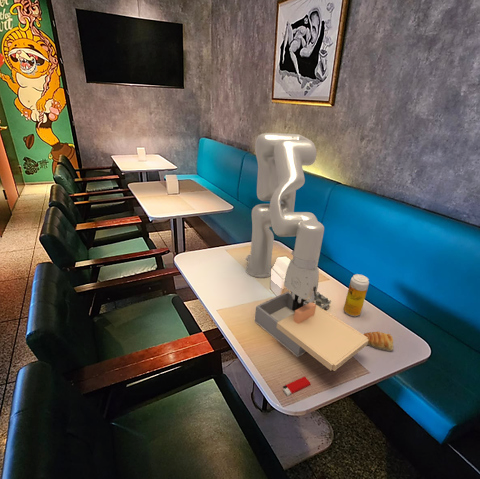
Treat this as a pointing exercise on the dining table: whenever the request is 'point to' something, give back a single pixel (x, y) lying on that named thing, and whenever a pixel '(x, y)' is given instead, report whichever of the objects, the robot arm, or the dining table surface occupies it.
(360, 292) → the beer can
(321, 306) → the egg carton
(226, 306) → the dining table surface
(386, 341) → the pastry
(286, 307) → the box
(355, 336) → the lid
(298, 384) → the lighter
